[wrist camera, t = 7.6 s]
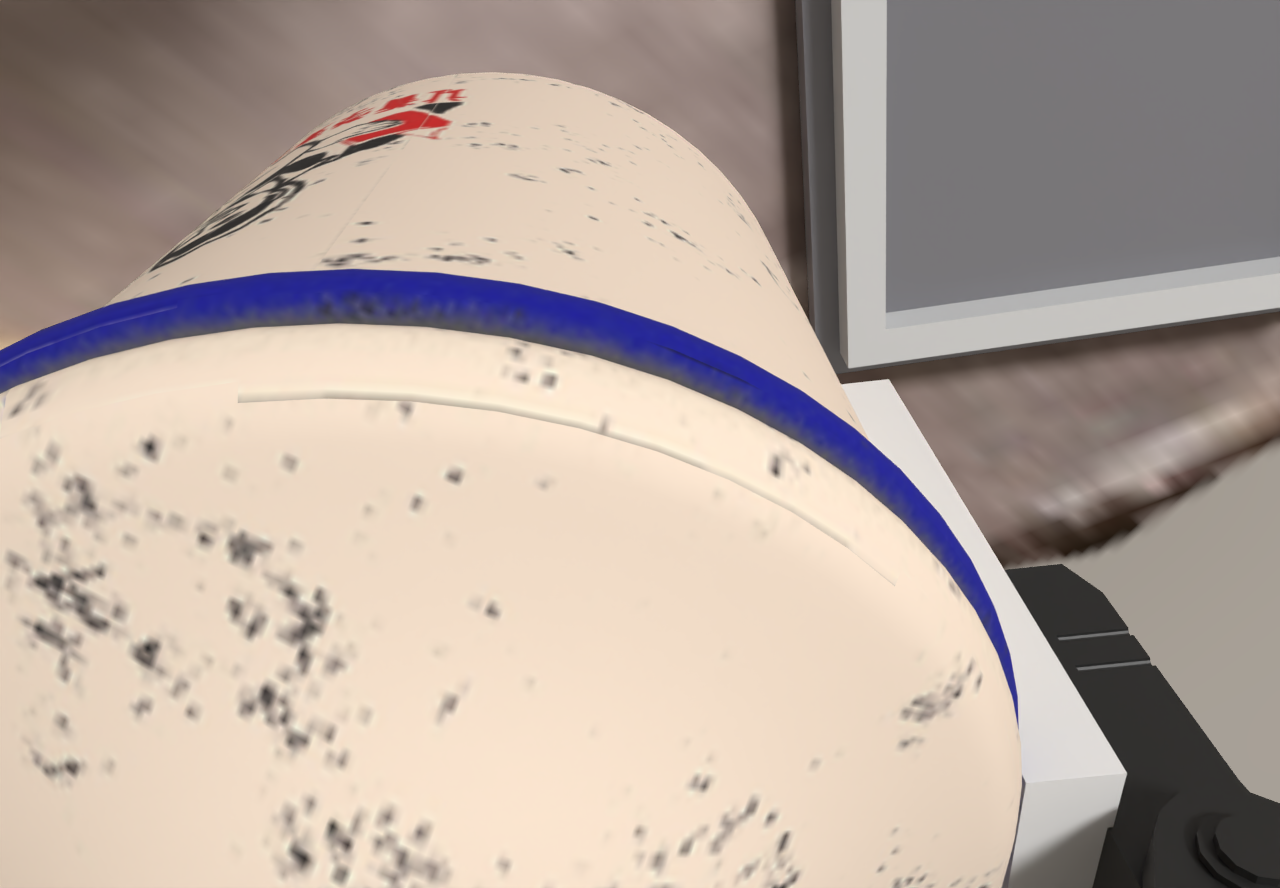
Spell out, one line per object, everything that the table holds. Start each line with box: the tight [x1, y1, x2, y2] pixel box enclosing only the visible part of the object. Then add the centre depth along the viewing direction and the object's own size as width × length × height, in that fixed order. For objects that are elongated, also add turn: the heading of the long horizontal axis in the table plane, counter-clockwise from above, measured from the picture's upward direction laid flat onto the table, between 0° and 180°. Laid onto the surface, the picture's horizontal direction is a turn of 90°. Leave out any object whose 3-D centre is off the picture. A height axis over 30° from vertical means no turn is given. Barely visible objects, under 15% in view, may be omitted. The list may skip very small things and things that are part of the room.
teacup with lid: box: [0, 72, 1022, 888], centre depth 10 cm, size 12×9×12 cm
